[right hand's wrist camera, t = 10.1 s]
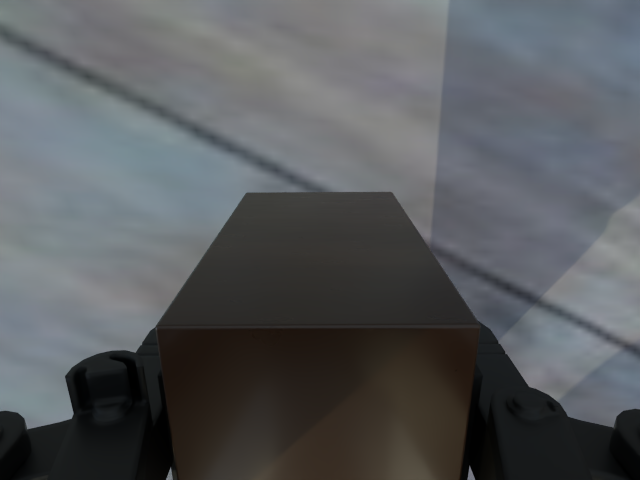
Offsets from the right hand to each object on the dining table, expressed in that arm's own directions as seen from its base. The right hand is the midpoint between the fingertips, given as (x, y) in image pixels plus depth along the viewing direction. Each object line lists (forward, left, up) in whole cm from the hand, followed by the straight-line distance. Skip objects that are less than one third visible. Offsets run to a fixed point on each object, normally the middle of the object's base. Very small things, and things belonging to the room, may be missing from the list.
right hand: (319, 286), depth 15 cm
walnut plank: (+10, 0, 0) cm, 10 cm away
